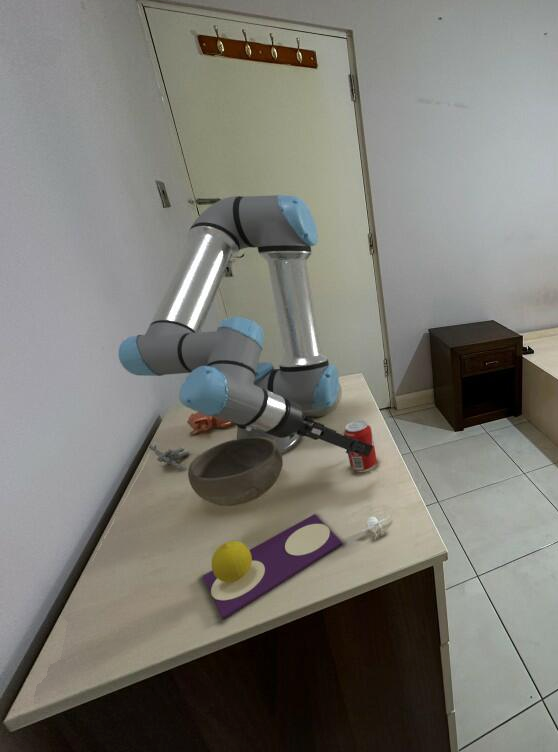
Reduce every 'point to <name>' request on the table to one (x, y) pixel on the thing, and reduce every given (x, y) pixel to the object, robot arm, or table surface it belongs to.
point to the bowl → (236, 470)
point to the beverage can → (364, 434)
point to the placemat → (274, 564)
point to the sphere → (327, 410)
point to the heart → (206, 422)
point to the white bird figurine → (373, 525)
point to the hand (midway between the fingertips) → (350, 443)
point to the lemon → (231, 561)
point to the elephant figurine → (170, 455)
